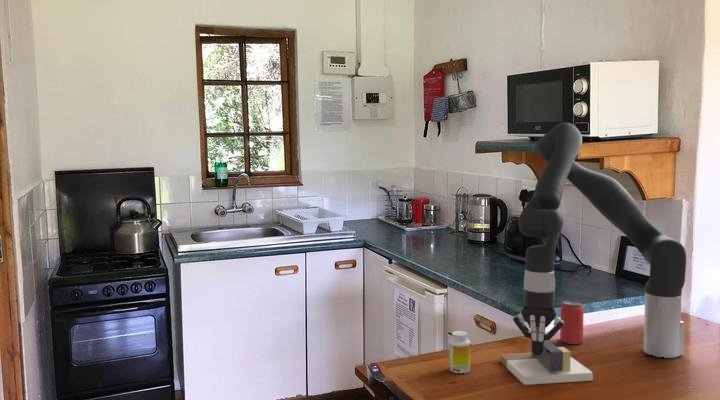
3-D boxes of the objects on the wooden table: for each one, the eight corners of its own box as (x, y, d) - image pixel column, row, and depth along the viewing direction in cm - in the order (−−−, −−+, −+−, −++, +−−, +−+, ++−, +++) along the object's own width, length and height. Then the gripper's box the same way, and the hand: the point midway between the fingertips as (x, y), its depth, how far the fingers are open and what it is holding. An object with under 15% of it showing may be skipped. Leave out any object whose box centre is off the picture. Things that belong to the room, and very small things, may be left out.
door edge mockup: (562, 357, 172) (563, 319, 171) (592, 380, 155) (593, 337, 154) (500, 361, 169) (500, 322, 168) (524, 384, 153) (524, 341, 152)
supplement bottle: (474, 372, 162) (474, 334, 161) (457, 375, 159) (457, 337, 158) (462, 365, 167) (462, 328, 166) (445, 369, 164) (444, 331, 163)
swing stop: (533, 355, 165) (533, 337, 165) (544, 354, 165) (544, 336, 165) (550, 371, 153) (550, 351, 153) (561, 370, 153) (562, 351, 153)
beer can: (584, 345, 182) (585, 305, 181) (561, 344, 183) (562, 305, 182) (581, 338, 188) (582, 300, 187) (558, 337, 189) (559, 299, 188)
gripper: (510, 288, 154) (508, 355, 156) (565, 293, 149) (563, 362, 151) (514, 282, 161) (513, 346, 163) (567, 286, 156) (566, 353, 157)
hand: (537, 354), depth 157 cm, fingers closed
